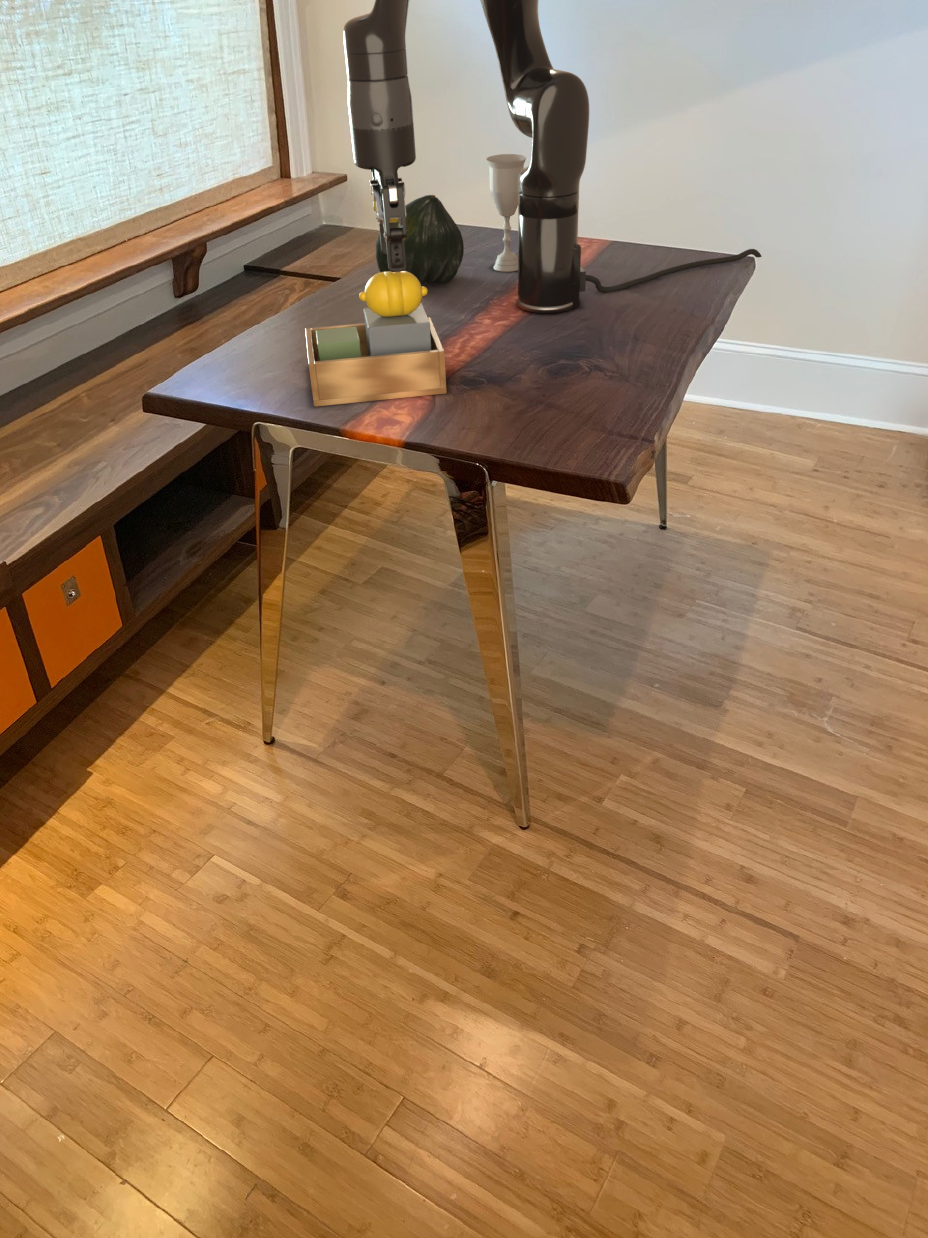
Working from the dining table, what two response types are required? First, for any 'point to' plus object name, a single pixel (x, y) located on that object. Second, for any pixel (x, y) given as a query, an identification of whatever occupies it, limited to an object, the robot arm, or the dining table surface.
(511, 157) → the chalice
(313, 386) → the crate
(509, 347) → the dining table surface
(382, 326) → the block grey
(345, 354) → the block sage
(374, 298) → the lemon
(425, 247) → the squash
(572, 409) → the dining table surface
